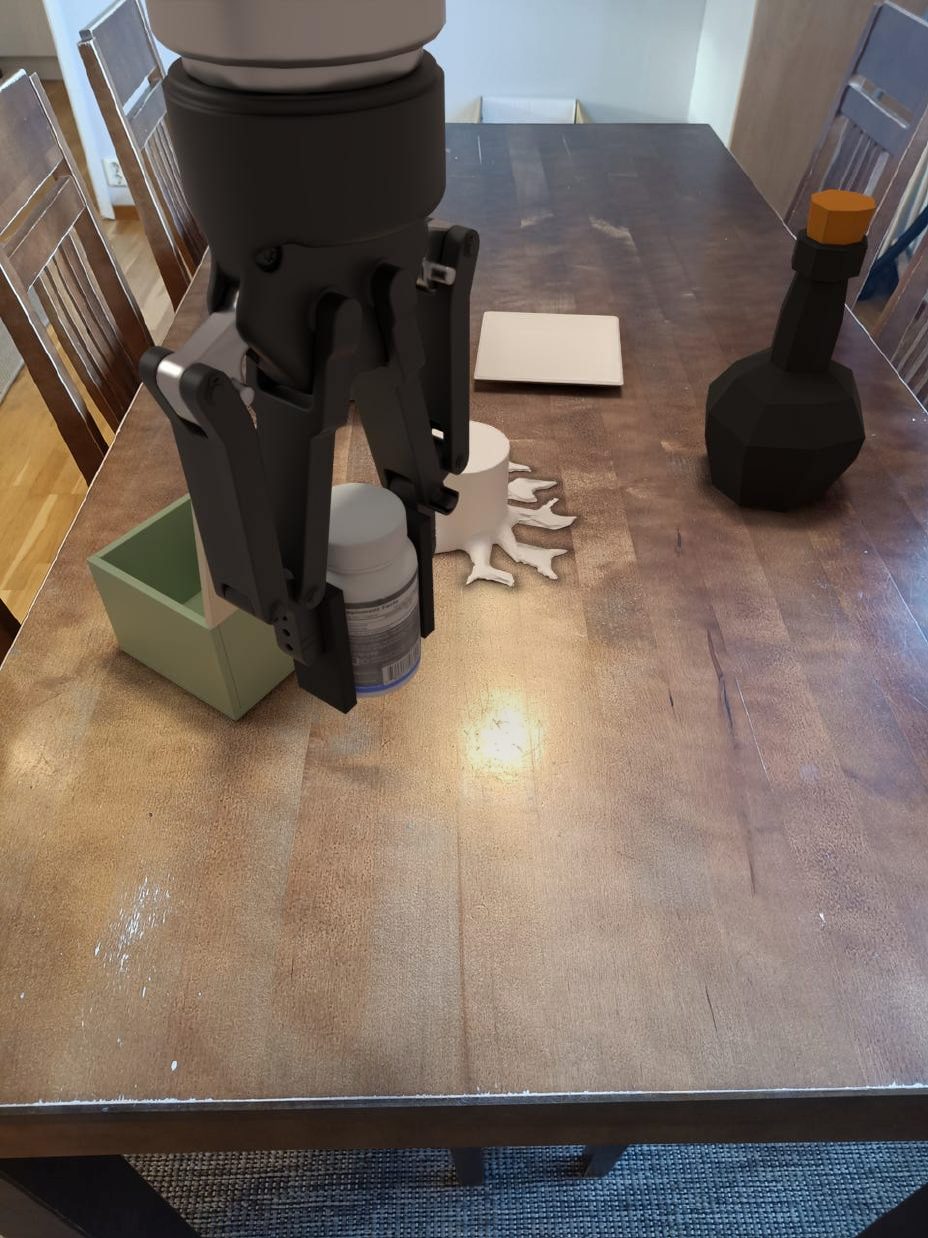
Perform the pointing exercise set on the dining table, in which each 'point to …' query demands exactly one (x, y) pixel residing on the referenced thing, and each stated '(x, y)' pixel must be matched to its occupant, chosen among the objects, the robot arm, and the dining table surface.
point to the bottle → (795, 376)
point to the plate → (549, 349)
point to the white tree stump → (494, 508)
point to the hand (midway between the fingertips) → (368, 656)
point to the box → (183, 616)
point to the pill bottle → (375, 585)
